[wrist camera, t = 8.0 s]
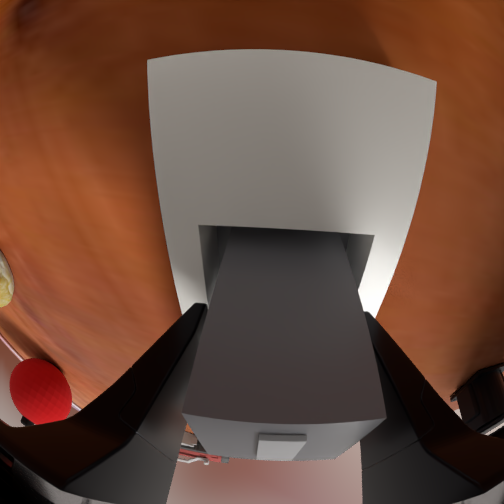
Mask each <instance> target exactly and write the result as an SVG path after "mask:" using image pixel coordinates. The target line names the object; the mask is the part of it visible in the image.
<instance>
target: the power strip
mask: <svg viewBox="0 0 504 504" xmlns="http://www.w3.org/2000/svg"><path fill="white" fill-rule="evenodd" d="M147 74H148V97H149V113H150V126H151V137H152V147H153V156H154V165H155V173H156V181H157V188H158V195H159V202H160V208H161V214H162V220H163V226H164V232H165V237H166V243H167V248H168V253H169V258H170V263H171V268H172V273H173V277H174V282H175V286H176V291H177V295H178V299H179V304H180V308H181V312H182V315H183V314H184V313H185V312H186V311H187V310H188V309H189V308H190V307H191V306H192V305H193V304H194V303H196V302H197V303H205V304H207V306H208V308H209V305H210V301H211V297H212V294H213V290H214V287H215V283H216V280H217V276H218V273H219V269H220V266H221V262H222V259H223V255H224V252H225V249H226V245H227V242H228V238H229V235H230V232H231V228H232V226H239V227H260V228H279V229H296V230H312V231H327V232H339V234H340V237H341V240H342V243H343V245H344V248H345V251H346V254H347V257H348V260H349V264H350V267H351V270H352V273H353V276H354V279H355V283H356V286H357V289H358V293H359V296H360V300H361V303H362V307H363V311H368V312H370V313H371V315H372V316H373V317H374V318H375V317H376V315H377V312H378V310H379V308H380V305H381V303H382V301H383V298H384V296H385V294H386V291H387V289H388V286H389V284H390V281H391V279H392V276H393V274H394V271H395V268H396V265H397V263H398V260H399V257H400V254H401V251H402V249H403V246H404V243H405V240H406V236H407V233H408V230H409V227H410V224H411V220H412V217H413V213H414V210H415V206H416V202H417V199H418V195H419V191H420V187H421V182H422V178H423V174H424V169H425V164H426V159H427V154H428V149H429V143H430V137H431V131H432V124H433V116H434V107H435V98H436V85H437V82H436V81H433V80H431V79H428V78H425V77H422V76H419V75H416V74H413V73H410V72H407V71H403V70H400V69H396V68H393V67H389V66H385V65H381V64H377V63H373V62H368V61H363V60H359V59H353V58H348V57H342V56H336V55H329V54H322V53H313V52H303V51H291V50H270V49H238V50H217V51H205V52H195V53H186V54H179V55H172V56H166V57H160V58H154V59H149V60H147Z"/></svg>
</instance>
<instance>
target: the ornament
mask: <svg viewBox="0 0 504 504" xmlns="http://www.w3.org/2000/svg"><path fill="white" fill-rule="evenodd" d="M10 393H11V397H12V400H13V402H14V404H15V406H16V408H17V409H18V411H19V412H20V413H21V414H22V415H23V416H22V419H21V423H22V424H23V425H25V426H32V425H34V424H36V425H38V424H44V423H49V422H54V421H59V420H64V419H66V418H67V416H68V414H69V412H70V409H71V405H72V395H71V390H70V386H69V384H68V382H67V380H66V378H65V377H64V375H63V374H62V373H61V371H60V370H59V369H57V368H56V367H55V366H54V365H53V364H51V363H49V362H47V361H45V360H42V359H38V358H31V359H26V360H24V361H22V362H20V363H19V364H18V365H17V366H16V367H15V368H14V370H13V372H12V374H11V378H10Z"/></svg>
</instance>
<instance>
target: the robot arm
mask: <svg viewBox="0 0 504 504" xmlns="http://www.w3.org/2000/svg"><path fill="white" fill-rule="evenodd" d="M207 312H208V306H207V304H205V303H197V302H196V303H194V304H193V305H192V306H191V307H190V308H189V309H188V310H187V311H186V312H185V313H184V314H183V315H182V316H181V317H180V318H179V319H178V320H177V321H176V322H175V323H174V324H173V325H172V326H171V327H170V328H169V329H168V330H167V331H166V332H165V333H164V334H163V335H162V336H161V337H160V338H159V339H158V340H157V341H156V342H155V343H154V344H153V345H152V346H151V347H150V348H149V349H148V350H147V351H146V352H145V353H144V354H143V355H142V356H141V357H140V358H139V359H138V360H137V361H136V362H135V363H134V364H133V365H132V368H129V369H128V370H127V371H126V372H125V373H124V374H123V375H122V376H121V377H120V378H119V379H118V380H117V381H116V382H115V383H114V384H113V385H112V386H110V387H109V388H108V389H107V390H106V391H104V392H103V393H102V394H101V395H100V396H98V397H97V398H96V399H95V400H93V401H92V402H91V403H89V404H88V405H87V406H86V407H84V408H83V409H82V410H81V411H79V412H78V413H76V414H75V415H74V416H71V417H69V418H67V419H64V420H59V421H54V422H49V423H44V424H38V425H32V426H25V427H11V426H9V425H8V424H6V423H5V422H4V421H2V420H1V419H0V504H166V502H167V497H168V494H169V490H170V486H171V482H172V478H173V474H174V470H175V466H176V462H177V459H178V455H179V451H180V447H181V443H182V440H183V436H184V432H185V428H186V425H187V422H186V420H185V418H184V417H183V415H182V408H183V404H184V400H185V396H186V392H187V388H188V384H189V380H190V376H191V372H192V368H193V364H194V361H195V357H196V353H197V349H198V345H199V342H200V338H201V334H202V330H203V327H204V323H205V319H206V316H207ZM364 314H365V318H366V322H367V326H368V329H369V333H370V337H371V342H372V346H373V350H374V354H375V359H376V363H377V368H378V373H379V378H380V383H381V388H382V393H383V399H384V404H385V410H386V417H387V418H386V419H385V420H384V421H383V422H381V423H380V424H379V425H378V426H377V427H376V428H374V429H373V430H372V431H371V432H370V433H368V434H367V435H366V436H365V437H363V438H362V439H361V440H360V446H361V447H360V448H361V463H362V495H363V504H504V426H502V427H501V428H499V429H498V430H496V431H495V432H493V433H491V434H490V435H484V434H486V433H487V432H489V431H491V430H492V429H494V428H496V427H497V426H499V425H500V424H502V423H503V422H504V376H503V374H502V372H503V371H504V363H503V364H500V365H497V366H494V367H491V368H487V369H484V370H480V371H479V372H477V373H476V374H475V375H474V376H473V377H472V378H471V379H470V380H469V381H468V382H467V383H466V384H465V385H464V386H463V387H462V388H461V389H460V390H459V391H458V392H457V393H456V394H455V395H453V396H452V397H451V398H450V400H451V402H453V401H456V400H457V402H458V405H459V409H460V413H461V416H462V419H461V418H460V417H459V416H458V415H457V414H456V413H455V412H454V411H453V410H452V409H451V408H450V407H449V406H448V405H447V403H446V402H445V401H444V400H443V399H442V398H441V397H440V396H439V395H438V393H437V392H436V391H435V390H434V389H433V387H432V386H431V385H430V384H429V382H428V381H427V380H426V379H425V377H424V376H423V375H422V374H421V372H420V371H419V370H418V369H417V368H416V366H415V365H414V364H413V363H412V361H411V360H410V359H409V358H408V357H407V355H406V354H405V353H404V352H403V351H402V349H401V348H400V347H399V346H398V345H397V343H396V342H395V341H394V340H393V339H392V338H391V336H390V335H389V334H388V333H387V332H386V331H385V329H384V328H383V327H382V326H381V325H380V324H379V323H378V321H377V320H376V319H375V318H374V317H373V316H372V315H371V313H370V312H368V311H364Z"/></svg>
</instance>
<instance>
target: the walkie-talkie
mask: <svg viewBox="0 0 504 504" xmlns="http://www.w3.org/2000/svg"><path fill="white" fill-rule="evenodd" d="M179 455H184V456H188V457H193V458H192V459H189V460H185V459H181V458H178V459H177V461H181V462H186V463H190V462H193V461H197V460H202V461H204V464H206V465H208V464H209V461H215V462H222V463H228V461H229V457H224V456H217V455H210V454H208V453H207V452H206V450H205V449H204V447H203V446H202V445H201V443H200V442H199V440H198V439H197V437H196V436H195V435H194V434H191V433H188V432H186V431H185V432H184V436H183V440H182V443H181V447H180V451H179Z"/></svg>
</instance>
